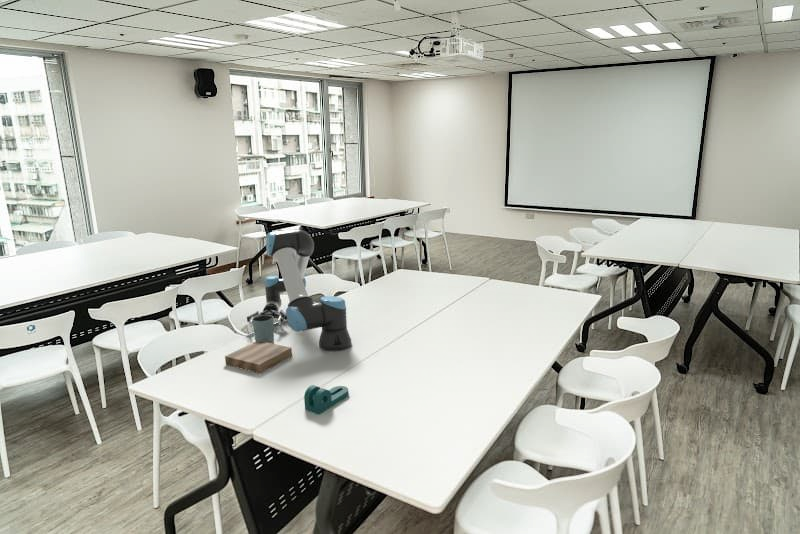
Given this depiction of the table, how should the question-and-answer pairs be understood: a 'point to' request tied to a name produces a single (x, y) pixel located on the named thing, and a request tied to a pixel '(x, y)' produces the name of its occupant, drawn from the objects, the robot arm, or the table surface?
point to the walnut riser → (258, 356)
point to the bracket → (323, 398)
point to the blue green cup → (263, 328)
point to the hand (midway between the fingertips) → (265, 323)
